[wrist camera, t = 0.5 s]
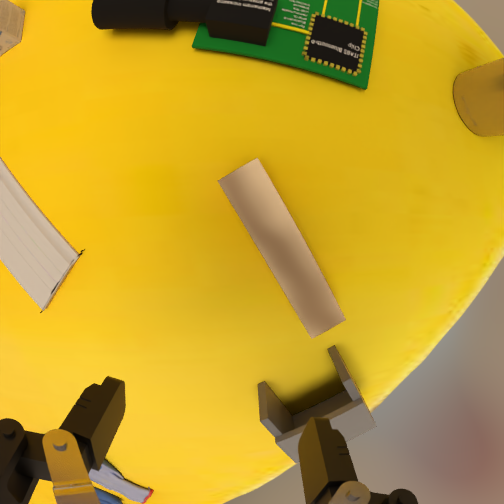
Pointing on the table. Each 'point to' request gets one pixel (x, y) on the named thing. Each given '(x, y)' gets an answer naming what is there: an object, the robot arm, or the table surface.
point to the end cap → (316, 412)
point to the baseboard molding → (31, 243)
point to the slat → (282, 246)
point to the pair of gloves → (116, 486)
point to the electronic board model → (265, 29)
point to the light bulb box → (10, 25)
